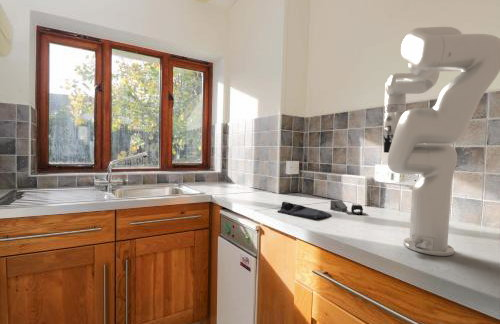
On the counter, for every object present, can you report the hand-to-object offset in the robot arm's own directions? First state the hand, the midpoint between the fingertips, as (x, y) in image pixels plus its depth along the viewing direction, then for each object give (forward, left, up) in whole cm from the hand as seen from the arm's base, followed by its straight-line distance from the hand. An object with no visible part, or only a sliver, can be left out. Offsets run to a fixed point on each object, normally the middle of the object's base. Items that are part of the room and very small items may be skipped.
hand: (393, 152), depth 109 cm
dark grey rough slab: (-19, +30, -29) cm, 45 cm away
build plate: (+2, +16, -29) cm, 33 cm away
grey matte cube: (+2, +25, -28) cm, 38 cm away
